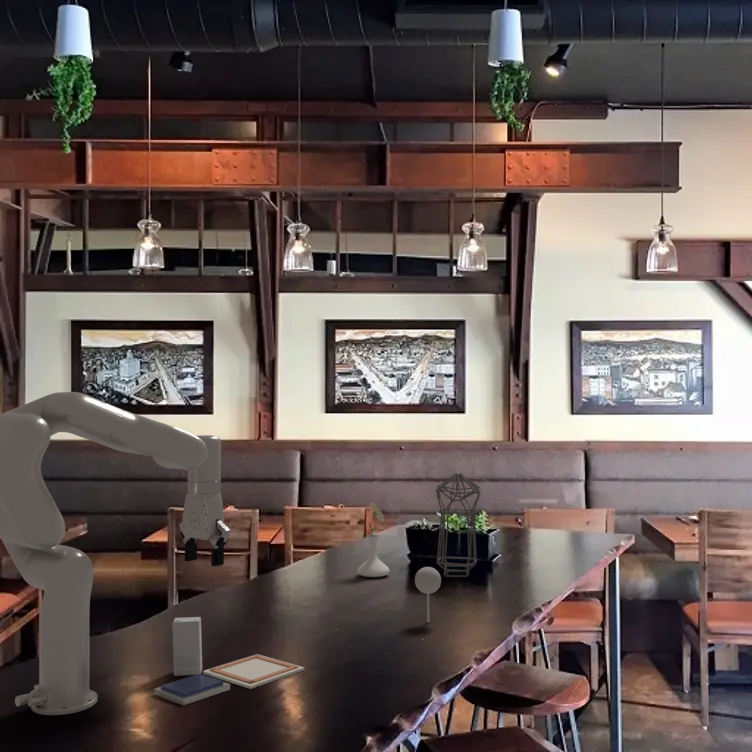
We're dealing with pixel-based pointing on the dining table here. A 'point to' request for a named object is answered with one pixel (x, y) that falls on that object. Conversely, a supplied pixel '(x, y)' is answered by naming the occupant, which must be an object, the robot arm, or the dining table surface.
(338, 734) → the dining table surface
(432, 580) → the lollipop
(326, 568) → the dining table surface
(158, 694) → the ink pad
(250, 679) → the white square board
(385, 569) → the flower in vase
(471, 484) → the geometric lantern
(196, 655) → the skincare box
